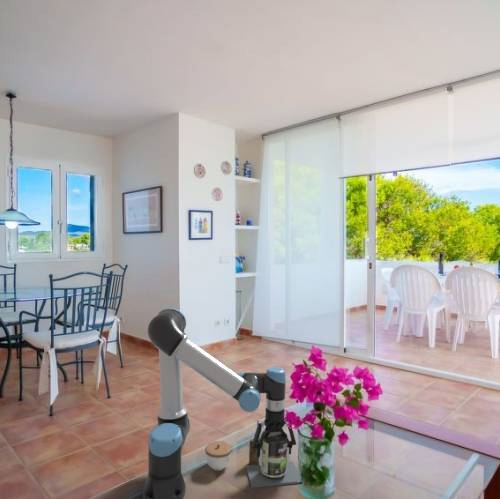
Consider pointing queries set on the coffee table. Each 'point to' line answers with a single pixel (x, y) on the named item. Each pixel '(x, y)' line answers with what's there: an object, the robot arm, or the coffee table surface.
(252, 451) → the walnut screen
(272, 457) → the coffee can
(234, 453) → the coffee table surface
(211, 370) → the robot arm
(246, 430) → the coffee table surface
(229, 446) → the lidded jar
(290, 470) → the slate mat
